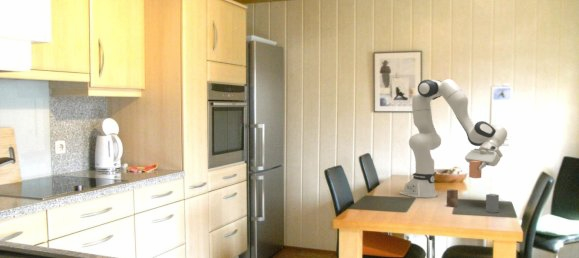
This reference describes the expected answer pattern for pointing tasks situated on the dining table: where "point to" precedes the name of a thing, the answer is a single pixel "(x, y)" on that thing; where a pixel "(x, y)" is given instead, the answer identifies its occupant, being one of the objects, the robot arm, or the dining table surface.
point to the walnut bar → (452, 198)
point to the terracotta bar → (474, 169)
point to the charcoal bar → (492, 203)
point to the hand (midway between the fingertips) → (474, 168)
